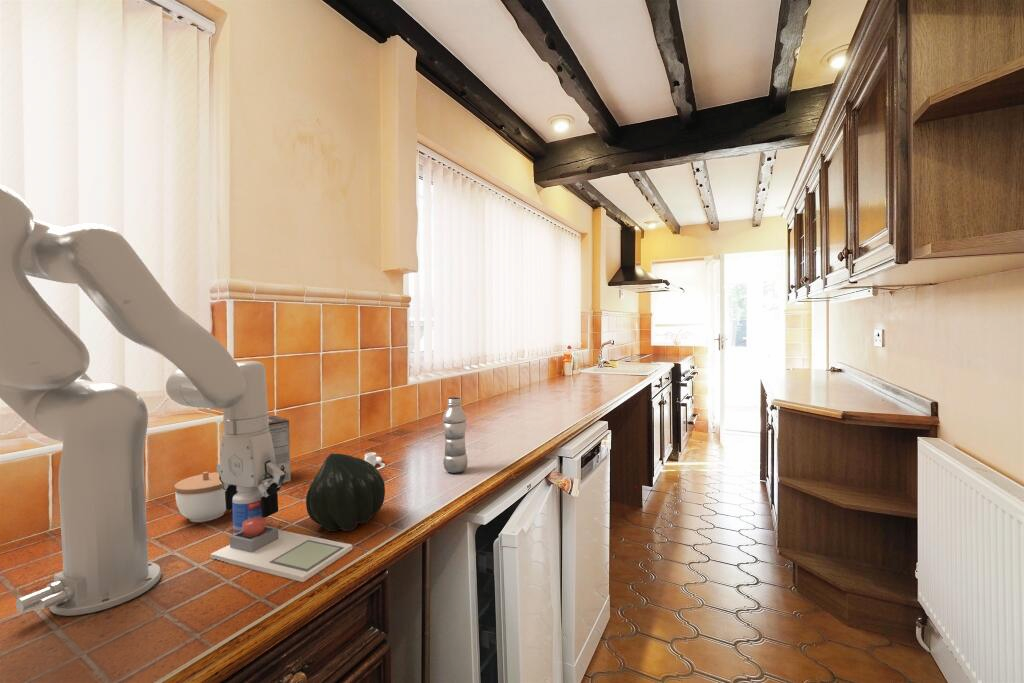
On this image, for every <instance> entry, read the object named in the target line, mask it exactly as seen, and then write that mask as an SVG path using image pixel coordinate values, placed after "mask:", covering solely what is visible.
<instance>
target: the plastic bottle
mask: <svg viewBox="0 0 1024 683" xmlns="http://www.w3.org/2000/svg"><path fill="white" fill-rule="evenodd" d="M446 400H447V403H446V406H447V408H446V410H445V411H444V413H443V415H442V424H443V431H444V432H443V433H444V443H445V444H444V455H443V462H442V463H443V467H444V469H445V472H446V473H447V472H448V473H450V474H451V473H453V474H454V473H455V474H456V473H462V472H464V471H466V470H467V468H468V461H469V459H468V455H467V449H466V426H467V425H466V424H467V414H466V413H465V411H464V409H463V408H462V407H461V406H462V398H461V397H460V396H454V397H453V396H451V397H448V398H447V399H446Z"/></svg>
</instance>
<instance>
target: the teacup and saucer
mask: <svg viewBox="0 0 1024 683" xmlns="http://www.w3.org/2000/svg"><path fill="white" fill-rule="evenodd" d="M363 460H365V461H367V462H369V463H370V464H372V465H373V466H374V467H375V468H376V465H380V466H379V467H377V468H376V469H377V470H378V471H379V470H381V469H383V468H385V467H386V464H385V463H384V462H382V461H383V458H382V457H381V456H377V453H376V452H367V453H365V454H364V459H363Z"/></svg>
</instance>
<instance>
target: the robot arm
mask: <svg viewBox="0 0 1024 683" xmlns="http://www.w3.org/2000/svg"><path fill="white" fill-rule="evenodd" d="M27 276H29V277H33V278H37V279H38V278H39V279H43V280H47V281H52V282H57V283H62V284H63V283H64V284H71V285H72V284H74V285H75V284H77V285H78V287H79V288H80V289H81V291H83V293H85V294H86V295H87V297H88V298H89V299H90V301H91V302H93V304H94V306H96V307H97V308H98V309H99V311H100V312H101V313H102V315H104V317H105V318H106V319H107V320H108V321H109V322H110V323H111V325H112V326H113V328H115V330H116V332H118V333H119V334H120V335H123V336H124V337H125V338H127V339H128V340H130V341H131V342H134V343H135V344H136V345H140V346H142V347H144V348H146V349H149V350H151V351H153V352H155V353H157V354H159V355H161V356H162V357H163V358H165V359H166V360H168V361H169V362H171V363H172V364H173V365H174V366H176V367H177V369H176V370H174V371H173V372H172V373H171V374H170V375H169V376H168V378H167V380H166V383H165V390H166V393H167V396H168V397H169V399H171V400H172V401H173V402H175V403H176V404H179V405H181V406H185V407H191V408H192V407H193V408H204V409H209V410H210V409H211V410H222V416H223V421H222V422H223V433H222V436H221V439H220V440H221V441H220V450H219V453H220V454H219V464H217V465H216V467H215V468H216V472H218V474H219V475H220V476H219V479H220V481H221V482H222V484H223V486H222V488H223V490H226V491H225V502H226V511H233V506H232V499H233V496H234V495H235V494H236V493H238V491H237V486H241V487H247V488H255V487H257V486H258V488H259V489H260V491H261V492H262V494H263V497H261V509H262V517H265V519H266V518H268V517H270V516H271V515H274V514H276V513H278V511H279V499H278V493H279V492H280V489H281V488H282V487H283V485H284V483H283V480H284V478H285V473H284V472H283V471H282V470H280V469H279V468H278V467H277V466H276V463H275V453H274V447H273V442H272V437H271V434H270V431H268V430H269V420H268V417H269V408H268V407H269V406H268V391H267V390H268V388H267V374H266V373H267V371H266V366H265V365H264V363H263V362H261V361H256V360H245V361H244V360H243V361H242V360H241V361H235V359H234V357H233V356H232V355H231V354H230V352H229V351H228V350H227V349H226V348H225V346H224V345H223V344H222V343H221V342H220V341H219V340H218V339H217V338H216V336H214V335H213V334H212V333H211V332H210V331H208V330H207V329H205V328H204V327H203V326H202V325H201V324H199V323H198V322H197V321H196V320H195V319H194V318H192V317H191V316H190V315H189V314H187V313H185V312H184V311H183V310H181V309H180V308H179V307H178V306H177V305H176V304H175V303H174V301H173V300H172V299H171V297H170V296H169V295H168V293H167V292H166V291H165V289H163V287H162V285H160V282H158V281H157V279H156V277H155V276H154V275H153V273H151V271H150V270H149V269H148V266H147V265H146V264H145V263H144V262H143V260H142V259H141V257H140V256H139V255H138V253H137V252H136V251H135V249H134V248H133V247H132V245H131V244H130V243H129V241H127V239H126V238H124V236H123V235H122V234H121V233H119V231H117V230H115V229H114V228H112V227H110V226H107V225H103V224H97V223H83V224H75V225H71V226H66V227H61V226H57V225H53V224H50V223H46V222H43V221H40V220H36V219H34V214H33V212H32V210H31V208H30V207H29V205H28V203H27V202H26V201H25V199H24V198H22V197H21V196H20V195H19V194H18V193H16V192H15V191H14V190H12V189H10V188H8V187H7V186H5V185H1V184H0V399H1V400H2V401H3V402H4V404H6V405H7V406H8V407H9V408H10V409H11V410H13V411H14V412H15V413H16V414H17V415H18V416H19V417H20V418H21V419H23V420H24V421H25V422H26V423H27V424H28V425H29V426H30V427H32V428H33V429H34V430H36V431H37V432H38V433H40V434H41V435H43V436H45V437H46V438H48V439H51V440H55V441H59V442H62V451H61V456H60V462H59V468H58V481H57V482H58V483H57V485H58V498H59V510H60V511H59V513H60V514H59V516H60V534H61V536H60V537H61V552H62V554H61V555H62V570H63V571H59V572H57V573H55V574H54V576H53V580H54V581H53V582H49V583H47V585H46V586H45V587H44V588H42V589H39V590H37V591H32V592H30V593H28V594H25V595H24V596H21V597H18V598H17V599H16V601H15V606H16V610H17V612H18V613H21V614H22V613H23V612H26V611H28V610H31V609H34V608H36V607H38V606H39V608H40V609H41V610H45V609H48V608H49V610H50V612H51V613H52V614H54V615H55V614H56V615H57V616H65V617H66V616H67V617H68V616H70V617H71V616H81V615H87V614H92V613H96V612H99V611H103V610H107V609H110V608H113V607H116V606H119V605H121V604H124V603H126V602H129V601H131V600H133V599H135V598H137V597H139V596H141V595H142V594H145V593H146V592H147V591H148V590H150V589H151V588H153V587H154V586H156V584H157V583H158V582H159V581H160V579H161V576H162V568H161V566H160V564H157V563H155V562H151V561H149V554H148V553H149V552H148V550H149V549H148V530H147V505H146V486H145V466H144V465H145V464H144V461H145V460H144V459H145V455H144V454H145V445H146V444H145V442H146V436H147V431H148V425H149V423H148V422H149V413H148V408H147V405H146V402H145V401H144V400H143V398H142V397H141V395H139V393H137V392H136V391H135V390H133V389H131V388H130V387H127V386H124V385H122V384H118V383H112V382H102V381H94V380H93V379H92V378H91V377H89V376H88V375H87V373H86V372H87V371H88V368H89V366H90V361H91V358H90V352H89V349H88V348H87V347H86V344H85V343H84V342H83V340H82V339H81V338H80V337H79V336H78V335H77V334H76V333H75V332H74V331H73V330H72V328H70V327H69V326H68V324H67V323H65V321H63V319H62V318H61V317H60V316H59V315H58V314H57V312H56V311H54V310H53V308H52V307H51V306H50V305H49V304H48V303H47V301H45V300H44V298H43V297H42V296H41V295H40V294H39V292H38V291H37V289H36V288H35V287H34V286H33V285H32V283H31V282H30V280H29V279H28V277H27ZM267 483H269V485H270V486H269V487H266V485H265V484H267Z"/></svg>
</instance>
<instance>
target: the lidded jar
mask: <svg viewBox="0 0 1024 683" xmlns="http://www.w3.org/2000/svg"><path fill="white" fill-rule="evenodd" d="M219 476H220V475H219V474H218V471H216V472H209V471H204V472H202V474H197V475H194V476H190V477H186V478H184V479H181V480H180V481H177V482H176V483H175V484H174V486H173V487H174V488H173V489H174V492H175V494H174V495H175V502H176V506H177V509H178V511H179V512H180V514H181V515H182V517H183V516H184V517H185V518H186V519H189V521H190V522H191V523H204V522H209V521H213V520H216V519H218V518H220V517H223V516H224V514H225V512H226V511H227V510H226V502H225V491H226V490H223V488H222V486H223V484H222V482H221V481H220V479H219Z"/></svg>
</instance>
